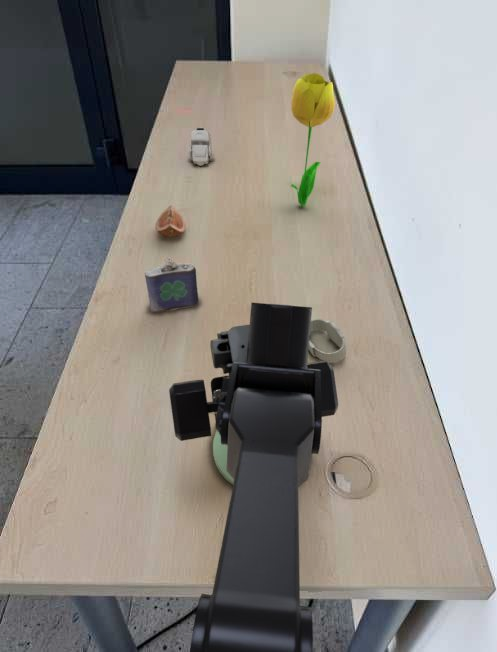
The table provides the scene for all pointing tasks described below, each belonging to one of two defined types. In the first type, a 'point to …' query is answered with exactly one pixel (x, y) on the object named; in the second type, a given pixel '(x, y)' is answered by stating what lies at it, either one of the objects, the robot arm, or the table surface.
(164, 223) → the fruit slice
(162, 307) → the flask
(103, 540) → the table surface
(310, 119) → the flower
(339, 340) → the wristwatch
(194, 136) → the white toy car
